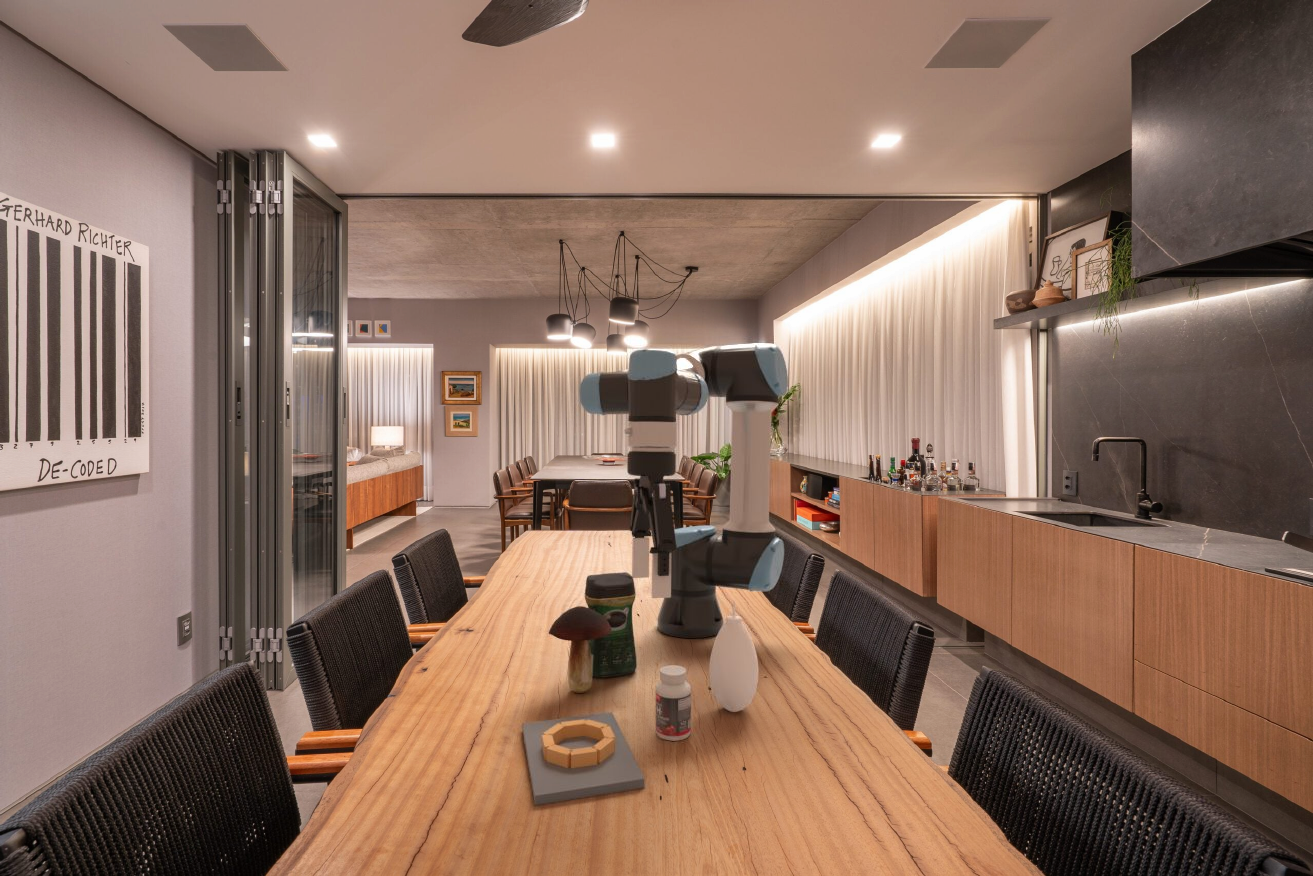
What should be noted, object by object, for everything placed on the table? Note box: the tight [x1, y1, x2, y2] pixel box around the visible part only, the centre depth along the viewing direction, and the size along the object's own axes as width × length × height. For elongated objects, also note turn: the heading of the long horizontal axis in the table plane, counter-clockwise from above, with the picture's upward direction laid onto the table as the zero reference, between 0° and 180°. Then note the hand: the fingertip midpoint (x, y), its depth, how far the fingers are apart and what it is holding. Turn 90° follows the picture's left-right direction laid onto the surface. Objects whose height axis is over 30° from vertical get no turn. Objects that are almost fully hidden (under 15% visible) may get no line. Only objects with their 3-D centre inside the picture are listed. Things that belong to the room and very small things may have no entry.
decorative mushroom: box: [548, 605, 612, 694], centre depth 113 cm, size 11×11×15 cm
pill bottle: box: [655, 664, 692, 742], centre depth 98 cm, size 5×5×10 cm
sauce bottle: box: [708, 601, 759, 713], centre depth 106 cm, size 8×8×18 cm
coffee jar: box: [584, 571, 638, 678], centre depth 123 cm, size 10×8×19 cm
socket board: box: [521, 711, 646, 806], centre depth 91 cm, size 14×20×3 cm
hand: (650, 586), depth 101 cm, fingers open, 13 cm apart
